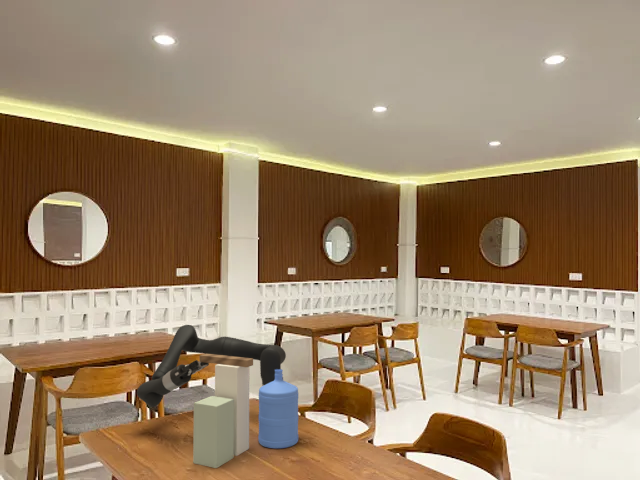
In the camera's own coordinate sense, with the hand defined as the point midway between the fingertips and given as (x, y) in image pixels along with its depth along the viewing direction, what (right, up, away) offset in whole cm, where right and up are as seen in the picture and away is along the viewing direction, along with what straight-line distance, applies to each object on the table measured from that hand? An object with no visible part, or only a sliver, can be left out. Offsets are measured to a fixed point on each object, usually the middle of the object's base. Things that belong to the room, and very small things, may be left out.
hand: (204, 360), depth 199 cm
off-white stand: (+12, -32, -7) cm, 35 cm away
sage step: (+7, -32, -17) cm, 37 cm away
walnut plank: (+9, 0, -4) cm, 10 cm away
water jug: (+29, -33, +2) cm, 43 cm away
